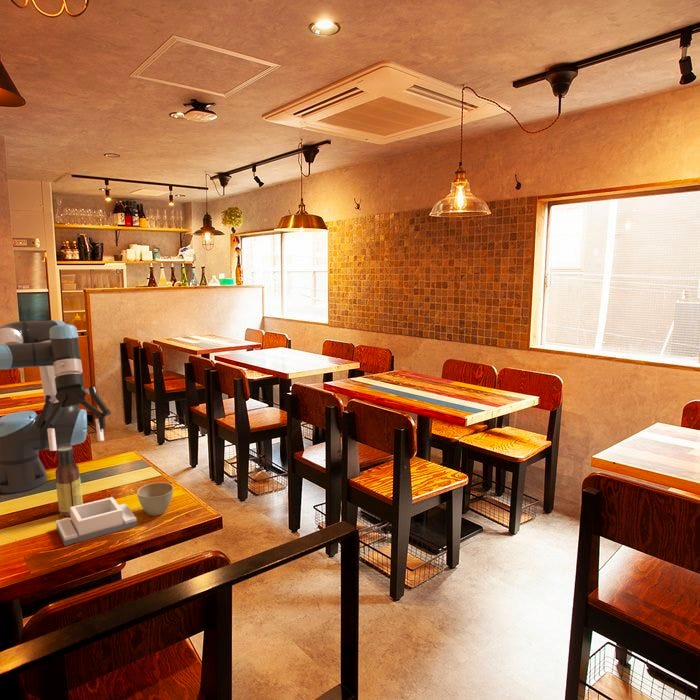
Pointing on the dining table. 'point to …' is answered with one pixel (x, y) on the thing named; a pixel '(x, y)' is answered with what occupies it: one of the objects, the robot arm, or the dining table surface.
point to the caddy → (95, 520)
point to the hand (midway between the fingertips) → (77, 445)
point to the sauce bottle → (67, 481)
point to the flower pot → (155, 497)
